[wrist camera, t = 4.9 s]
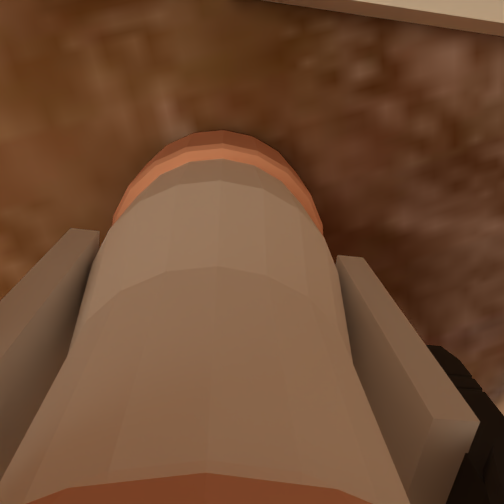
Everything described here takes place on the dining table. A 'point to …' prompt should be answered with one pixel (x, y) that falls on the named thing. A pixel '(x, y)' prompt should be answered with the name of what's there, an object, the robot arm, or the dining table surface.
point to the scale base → (422, 12)
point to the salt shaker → (208, 351)
